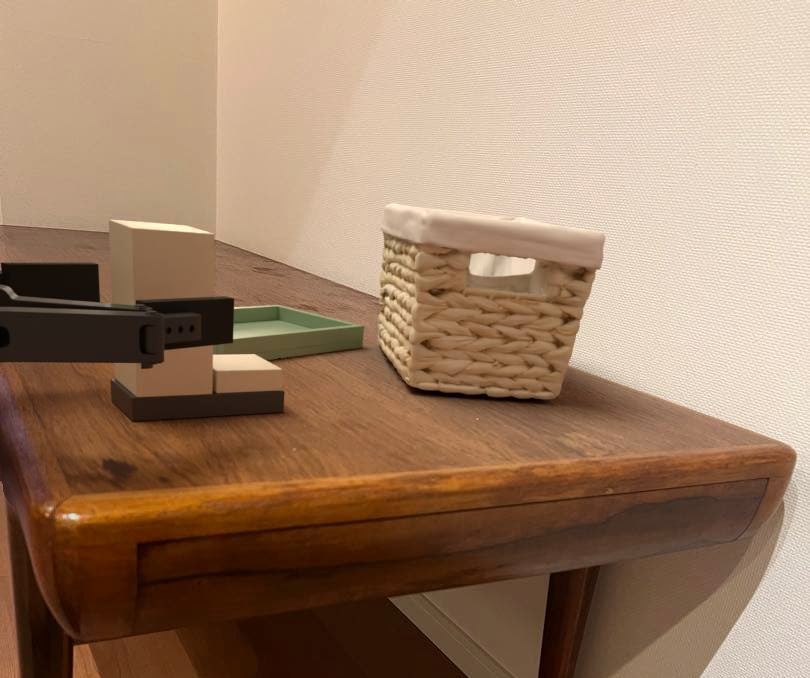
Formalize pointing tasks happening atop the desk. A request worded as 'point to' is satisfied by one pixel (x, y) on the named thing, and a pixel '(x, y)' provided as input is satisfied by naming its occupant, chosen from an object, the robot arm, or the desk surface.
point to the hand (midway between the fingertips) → (159, 300)
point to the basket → (483, 300)
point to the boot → (188, 367)
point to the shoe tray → (288, 333)
